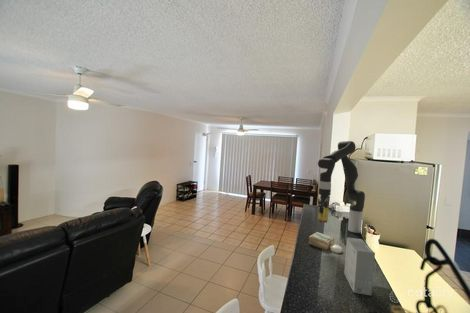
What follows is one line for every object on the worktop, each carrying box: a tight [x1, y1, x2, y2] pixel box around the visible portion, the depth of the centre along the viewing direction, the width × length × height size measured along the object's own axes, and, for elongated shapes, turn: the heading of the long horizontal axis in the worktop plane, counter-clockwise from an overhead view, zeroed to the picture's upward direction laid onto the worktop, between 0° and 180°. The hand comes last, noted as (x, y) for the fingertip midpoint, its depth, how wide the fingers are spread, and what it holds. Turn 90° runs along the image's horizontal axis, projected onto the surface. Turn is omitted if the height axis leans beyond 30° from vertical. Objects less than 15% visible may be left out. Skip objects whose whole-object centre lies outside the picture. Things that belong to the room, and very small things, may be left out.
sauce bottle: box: [317, 196, 330, 224], centre depth 144 cm, size 7×6×20 cm
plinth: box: [308, 231, 335, 251], centre depth 145 cm, size 12×12×5 cm
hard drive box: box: [343, 237, 376, 296], centre depth 103 cm, size 16×8×20 cm, turn 168°
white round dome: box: [329, 244, 343, 254], centre depth 137 cm, size 7×7×2 cm
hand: (323, 211), depth 144 cm, fingers closed on sauce bottle, 6 cm apart
